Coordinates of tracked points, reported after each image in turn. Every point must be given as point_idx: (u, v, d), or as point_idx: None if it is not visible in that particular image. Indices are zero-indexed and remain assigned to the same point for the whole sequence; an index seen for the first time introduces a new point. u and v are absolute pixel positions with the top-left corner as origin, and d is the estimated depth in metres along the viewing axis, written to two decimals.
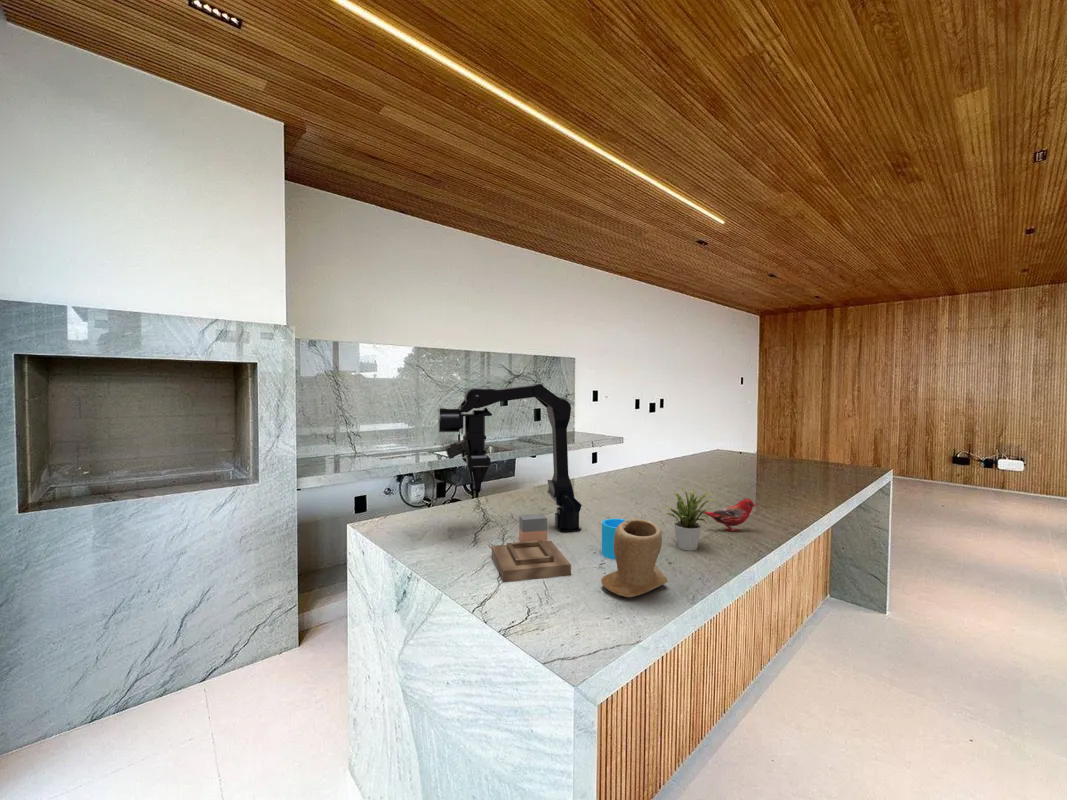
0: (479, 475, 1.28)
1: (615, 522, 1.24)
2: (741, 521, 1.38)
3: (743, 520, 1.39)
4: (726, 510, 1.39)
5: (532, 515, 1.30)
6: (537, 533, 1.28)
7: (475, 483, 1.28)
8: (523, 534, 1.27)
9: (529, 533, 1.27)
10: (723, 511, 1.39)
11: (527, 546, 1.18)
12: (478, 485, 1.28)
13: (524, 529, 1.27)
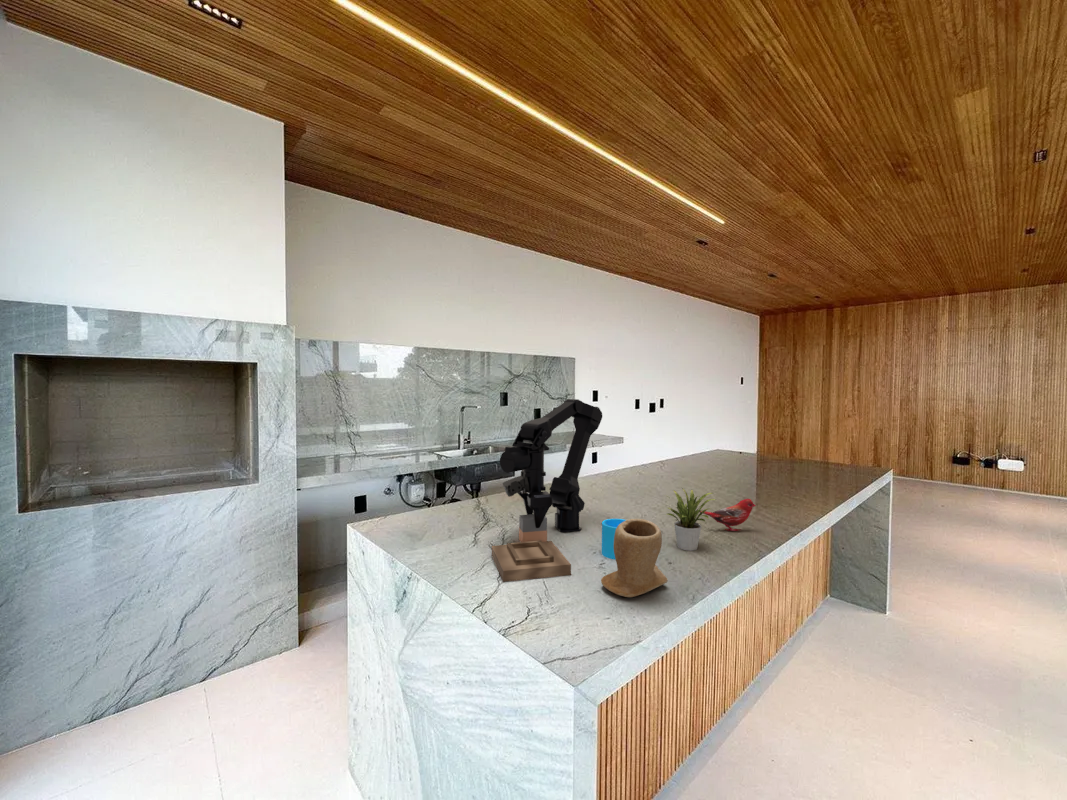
0: (540, 514, 1.24)
1: (615, 522, 1.24)
2: (741, 521, 1.38)
3: (743, 520, 1.39)
4: (726, 510, 1.39)
5: (532, 515, 1.30)
6: (537, 533, 1.28)
7: (536, 521, 1.25)
8: (523, 534, 1.27)
9: (529, 533, 1.27)
10: (723, 511, 1.39)
11: (527, 546, 1.18)
12: (538, 524, 1.25)
13: (524, 529, 1.27)
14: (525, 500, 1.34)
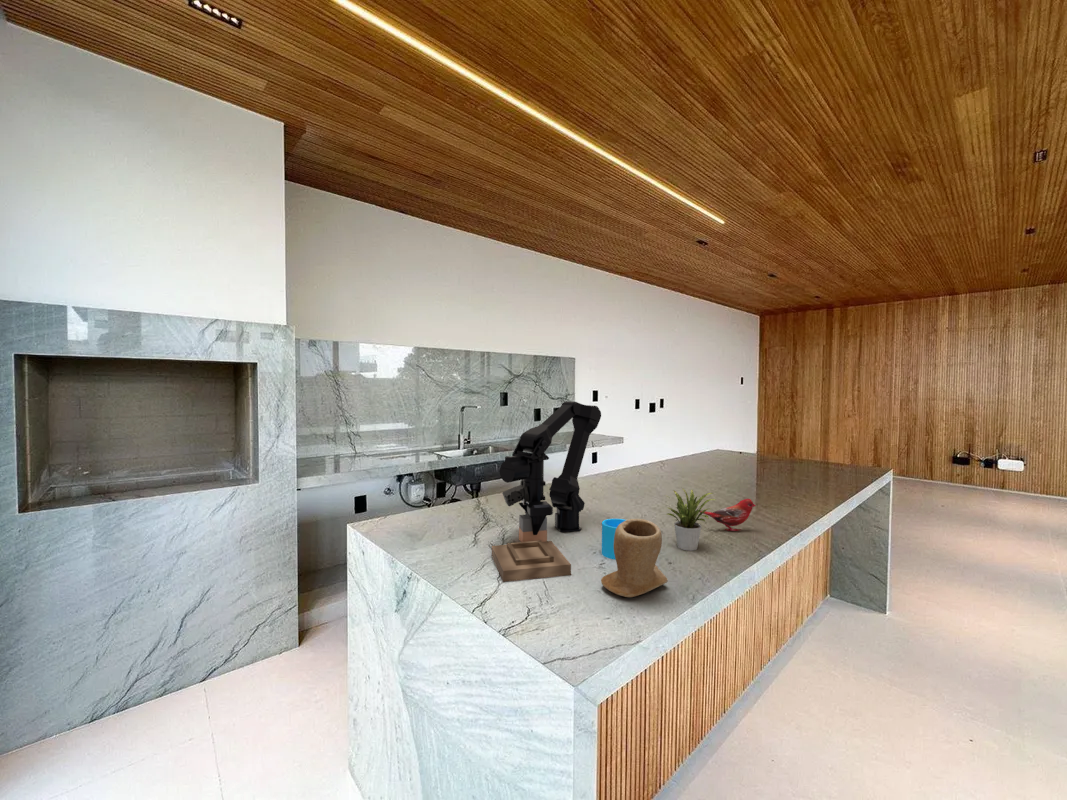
0: (538, 521, 1.26)
1: (615, 522, 1.24)
2: (741, 521, 1.38)
3: (743, 520, 1.39)
4: (726, 510, 1.39)
5: None
6: None
7: (534, 529, 1.27)
8: (523, 534, 1.27)
9: (529, 532, 1.27)
10: (723, 511, 1.39)
11: (527, 546, 1.18)
12: (536, 531, 1.27)
13: (524, 529, 1.27)
14: (526, 511, 1.32)
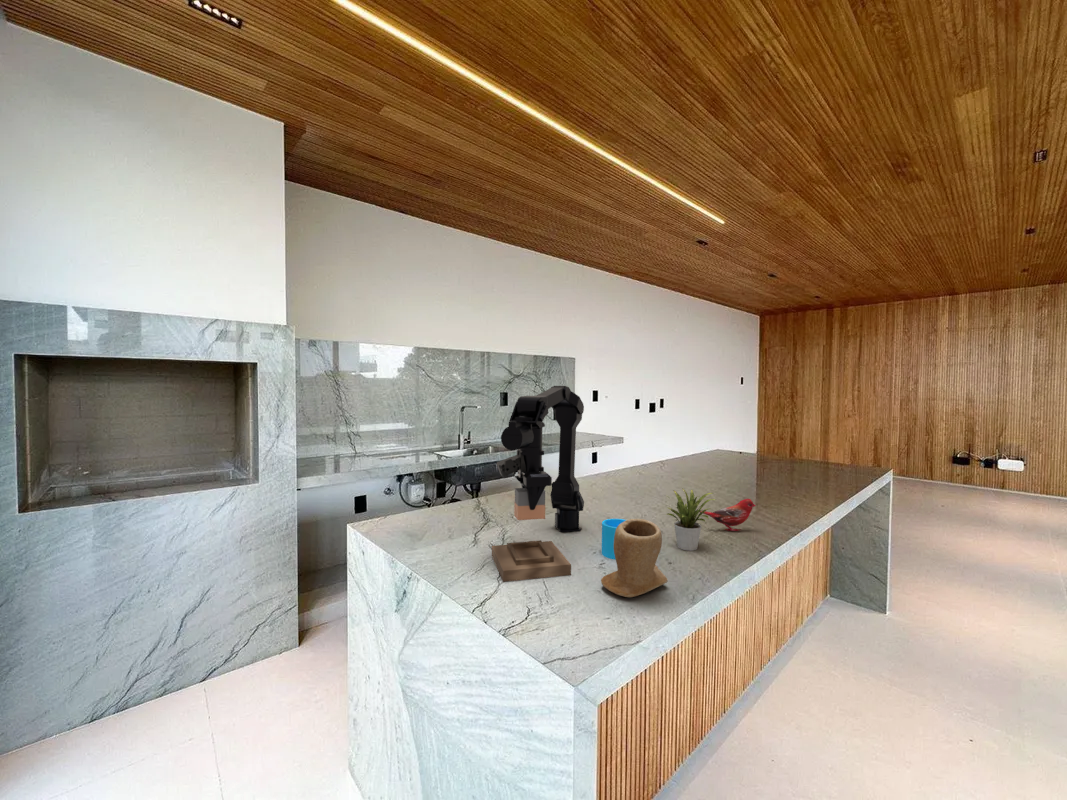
0: (535, 494, 1.14)
1: (615, 522, 1.24)
2: (741, 521, 1.38)
3: (743, 520, 1.39)
4: (726, 510, 1.39)
5: None
6: None
7: (531, 502, 1.14)
8: (519, 508, 1.15)
9: (526, 507, 1.15)
10: (723, 511, 1.39)
11: (527, 546, 1.18)
12: (533, 505, 1.15)
13: (520, 502, 1.15)
14: (523, 485, 1.20)
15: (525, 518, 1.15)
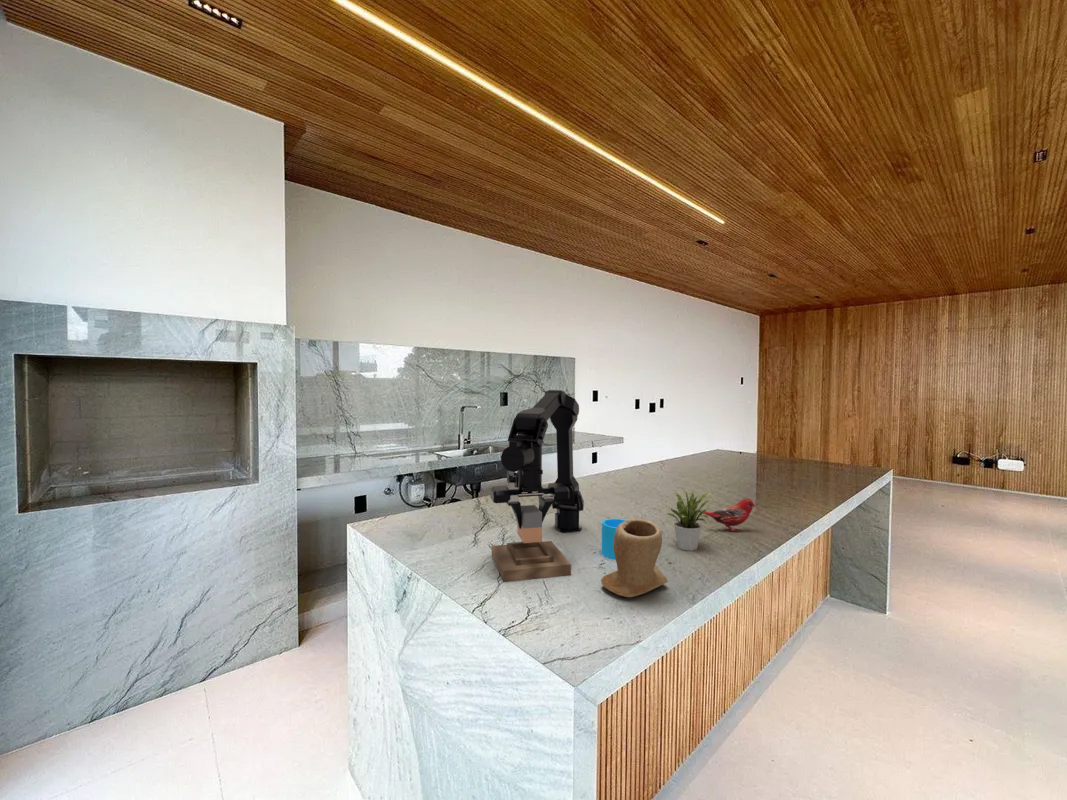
0: None
1: (615, 522, 1.24)
2: (741, 521, 1.38)
3: (743, 520, 1.39)
4: (726, 510, 1.39)
5: (532, 509, 1.13)
6: (521, 527, 1.12)
7: None
8: None
9: None
10: (723, 511, 1.39)
11: (527, 546, 1.18)
12: (518, 524, 1.12)
13: None
14: (539, 505, 1.14)
15: (519, 534, 1.14)
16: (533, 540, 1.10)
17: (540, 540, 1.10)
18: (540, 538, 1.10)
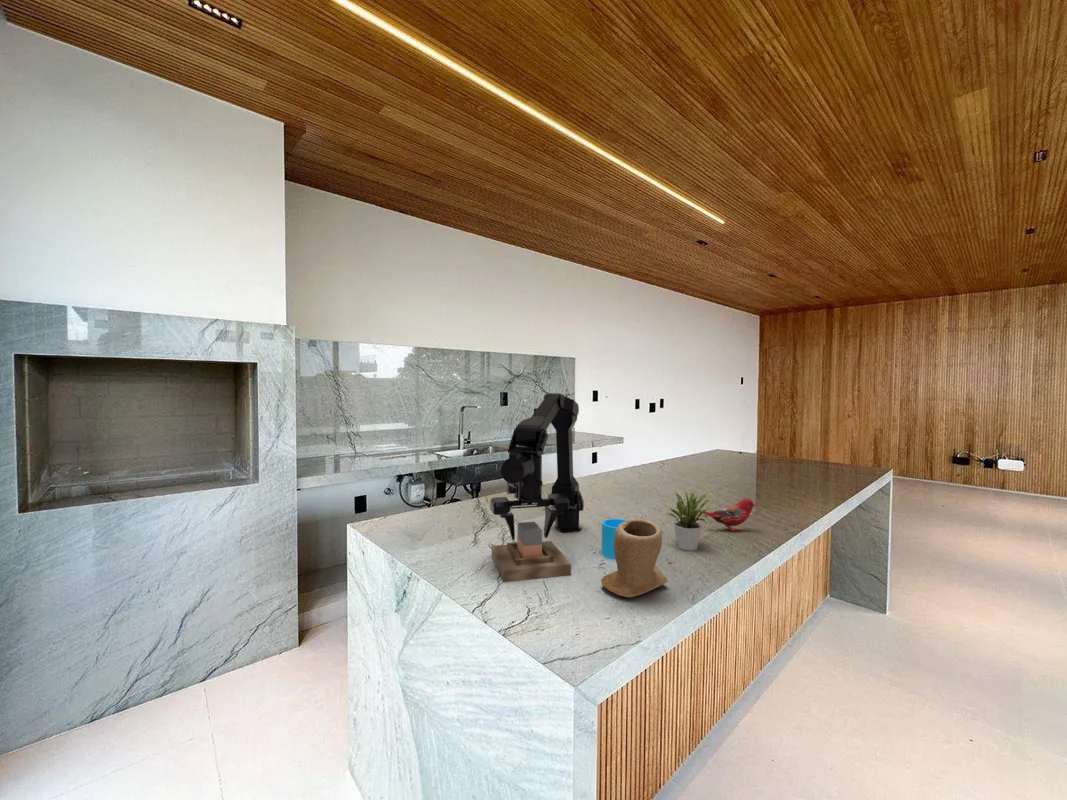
0: None
1: (615, 522, 1.24)
2: (741, 521, 1.38)
3: (743, 520, 1.39)
4: (726, 510, 1.39)
5: (532, 526, 1.13)
6: (521, 544, 1.12)
7: None
8: (517, 539, 1.16)
9: (519, 540, 1.14)
10: (723, 511, 1.39)
11: None
12: (511, 535, 1.12)
13: (517, 534, 1.15)
14: (545, 515, 1.15)
15: (518, 551, 1.14)
16: None
17: None
18: (540, 555, 1.10)
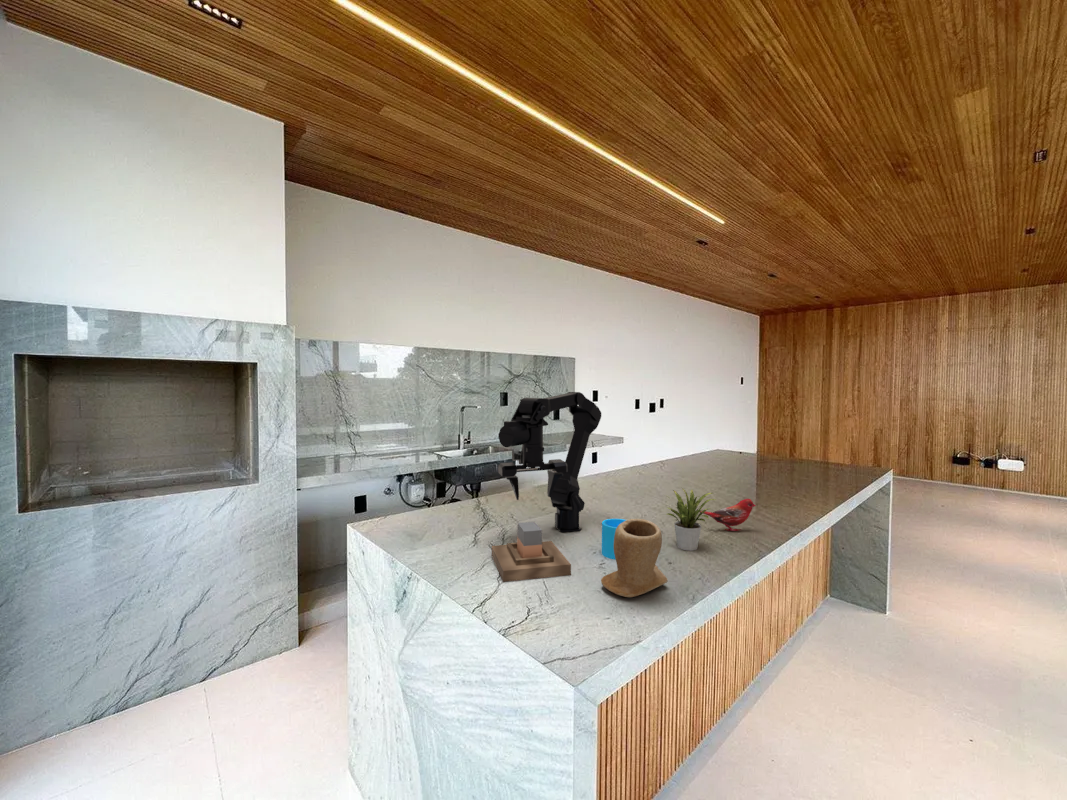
0: (513, 485, 1.27)
1: (615, 522, 1.24)
2: (741, 521, 1.38)
3: (743, 520, 1.39)
4: (726, 510, 1.39)
5: (532, 526, 1.13)
6: (521, 544, 1.12)
7: (514, 492, 1.28)
8: (517, 539, 1.16)
9: (519, 540, 1.14)
10: (723, 511, 1.39)
11: None
12: (515, 496, 1.28)
13: (517, 534, 1.15)
14: (548, 478, 1.32)
15: (518, 551, 1.14)
16: None
17: None
18: (540, 555, 1.10)
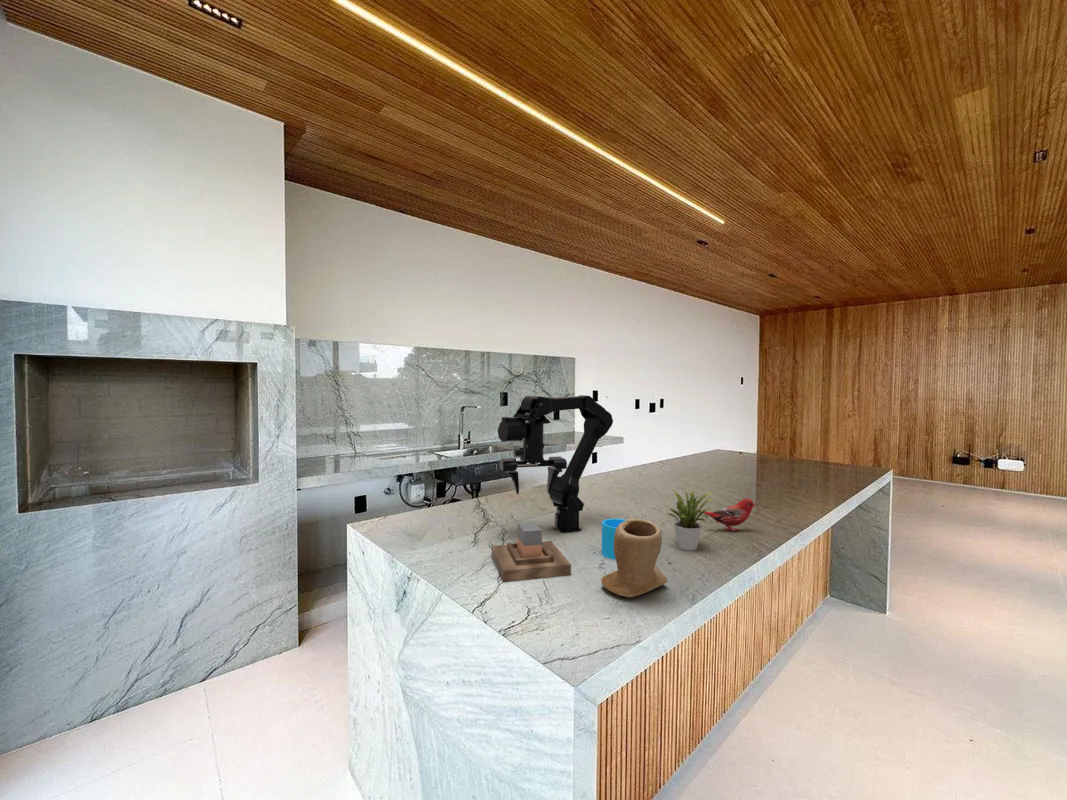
0: (513, 480, 1.31)
1: (615, 522, 1.24)
2: (741, 521, 1.38)
3: (743, 520, 1.39)
4: (726, 510, 1.39)
5: (532, 526, 1.13)
6: (521, 544, 1.12)
7: None
8: (517, 539, 1.16)
9: (519, 540, 1.14)
10: (723, 511, 1.39)
11: None
12: (516, 490, 1.32)
13: (517, 534, 1.15)
14: (548, 474, 1.36)
15: (518, 551, 1.14)
16: None
17: None
18: (540, 555, 1.10)
